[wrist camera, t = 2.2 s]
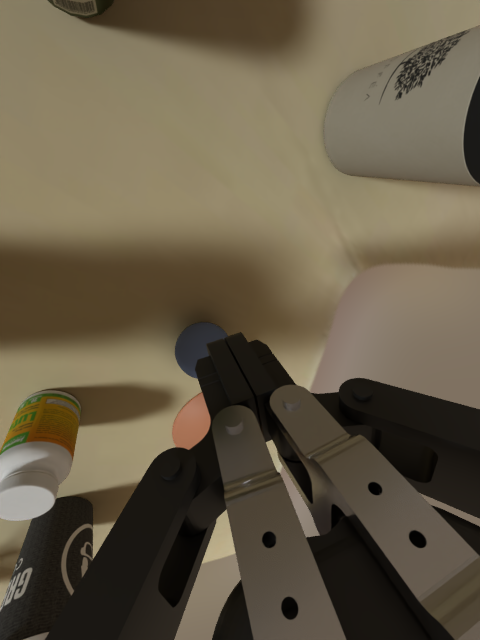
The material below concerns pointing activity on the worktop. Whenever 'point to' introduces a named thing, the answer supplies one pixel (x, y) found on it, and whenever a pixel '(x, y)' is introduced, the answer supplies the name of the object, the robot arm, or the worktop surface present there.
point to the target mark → (191, 423)
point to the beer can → (82, 7)
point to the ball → (196, 345)
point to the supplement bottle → (37, 454)
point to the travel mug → (411, 115)
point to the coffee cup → (48, 569)
